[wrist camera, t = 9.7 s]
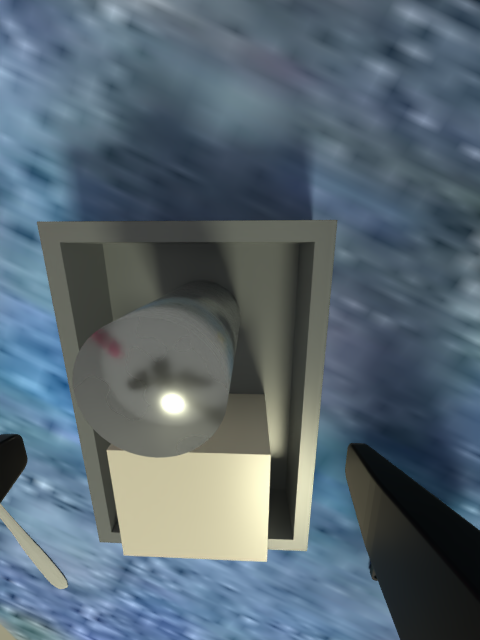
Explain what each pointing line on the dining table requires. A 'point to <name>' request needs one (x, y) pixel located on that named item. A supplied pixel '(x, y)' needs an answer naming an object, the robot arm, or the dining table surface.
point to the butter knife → (34, 552)
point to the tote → (253, 338)
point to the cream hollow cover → (200, 492)
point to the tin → (161, 372)
